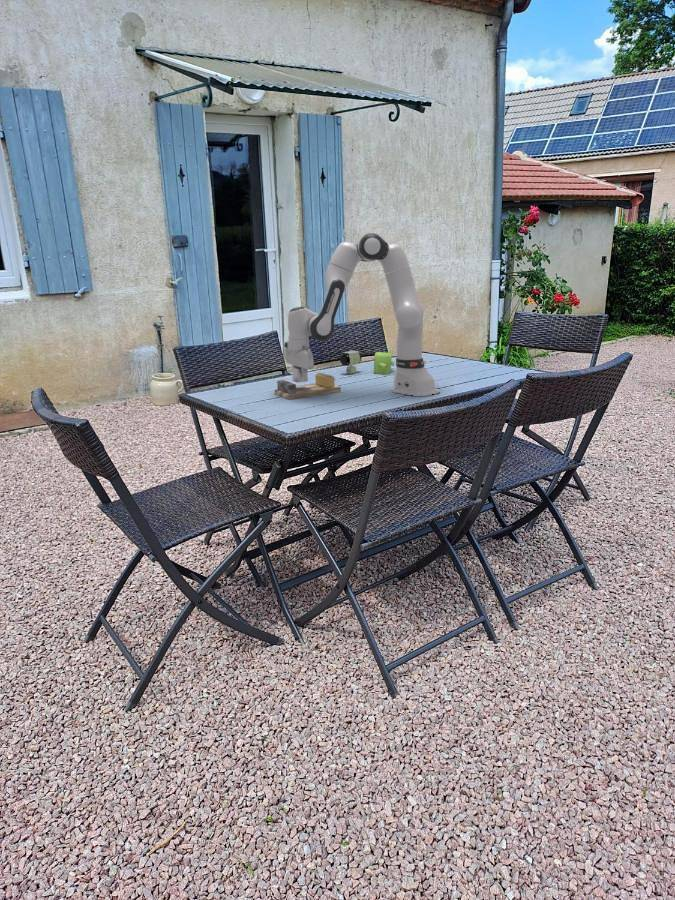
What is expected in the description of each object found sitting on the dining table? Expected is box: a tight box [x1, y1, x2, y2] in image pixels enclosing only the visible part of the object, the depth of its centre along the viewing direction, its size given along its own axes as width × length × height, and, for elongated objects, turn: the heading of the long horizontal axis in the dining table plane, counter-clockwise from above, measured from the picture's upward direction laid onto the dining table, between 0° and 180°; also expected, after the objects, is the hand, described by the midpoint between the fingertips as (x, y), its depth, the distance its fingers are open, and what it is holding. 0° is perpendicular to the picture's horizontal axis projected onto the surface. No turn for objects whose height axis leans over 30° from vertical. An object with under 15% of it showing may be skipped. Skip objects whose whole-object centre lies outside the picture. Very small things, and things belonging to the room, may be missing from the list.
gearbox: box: [373, 351, 395, 375], centre depth 339 cm, size 18×10×10 cm, turn 174°
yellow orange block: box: [315, 372, 335, 387], centre depth 302 cm, size 10×4×5 cm, turn 31°
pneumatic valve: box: [339, 349, 363, 375], centre depth 338 cm, size 6×12×12 cm, turn 136°
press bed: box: [274, 379, 342, 401], centre depth 298 cm, size 14×26×6 cm, turn 121°
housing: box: [291, 366, 309, 383], centre depth 294 cm, size 5×5×8 cm
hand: (300, 376), depth 295 cm, fingers closed on housing, 5 cm apart
